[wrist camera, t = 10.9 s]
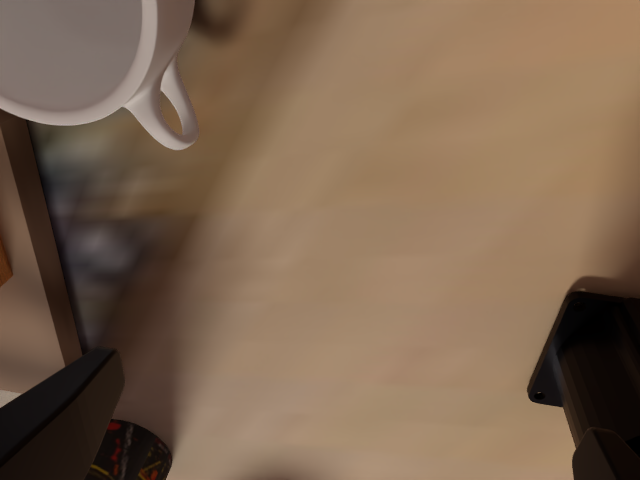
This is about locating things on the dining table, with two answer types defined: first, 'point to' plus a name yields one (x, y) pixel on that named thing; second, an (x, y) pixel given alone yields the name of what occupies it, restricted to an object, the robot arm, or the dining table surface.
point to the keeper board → (30, 271)
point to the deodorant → (130, 455)
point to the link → (4, 265)
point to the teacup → (96, 62)
